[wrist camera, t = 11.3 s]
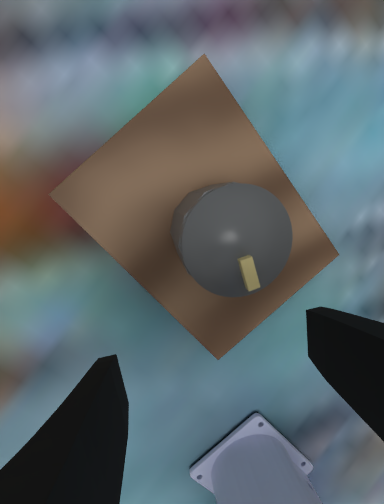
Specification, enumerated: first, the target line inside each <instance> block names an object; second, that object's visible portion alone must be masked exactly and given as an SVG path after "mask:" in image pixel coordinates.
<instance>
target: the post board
mask: <svg viewBox="0 0 384 504" xmlns="http://www.w3.org/2000/svg"><path fill="white" fill-rule="evenodd" d="M228 182H237V183H242V184H252V185H256V186H259V187H262V188H264V189H266V190H268V191H269V192H271V193H272V194H273V195H274V196H276V197H277V198H278V199H279V200H280V202H281V203H282V204H283V206H284V207H285V209H286V210H287V213H288V215H289V217H290V221H291V225H292V232H293V240H292V247H291V252H290V255H289V258H288V260H287V262H286V265H285V266H284V268H283V270H282V271H281V273H280V274H279V275H278V276H277V278H276V279H274V280H273V281H272V282H271V283H270V284H269V285H268V286H266V287H265V288H263V289H262V290H260V291H258V292H256V293H253V294H250V295H247V296H242V297H224V296H219V295H216V294H214V293H211V292H209V291H207V290H206V289H204V288H203V287H202V286H200V285H199V284H198V283H197V282H196V281H195V280H194V278H193V277H192V276H191V275H189V274H188V273H187V271H186V269H185V267H184V265H183V263H182V261H181V259H180V257H179V255H178V253H177V250H176V247H175V245H174V242H173V239H172V236H171V233H170V230H171V225H172V220H173V214H174V209H176V207H177V206H178V205H179V204H180V203H181V201H182V200H183V199H184V198H185V197H186V196H187V194H188V193H189V192H192V191H195V190H198V189H201V188H204V187H206V186H209V185H214V184H221V183H228ZM48 195H49V196H50V197H51V198H52V199H53V200H55V201H56V202H57V203H58V204H59V205H60V206H61V207H62V208H63V209H64V210H65V211H66V212H67V213H68V214H69V215H70V216H71V217H72V218H73V219H74V220H75V221H76V222H77V223H78V224H79V225H80V226H81V227H82V228H83V229H84V230H85V231H86V232H87V233H88V234H89V235H90V236H91V237H92V238H93V239H94V240H95V241H97V242H98V243H99V244H100V245H101V246H102V247H103V248H104V249H105V250H106V251H107V252H108V253H109V254H110V255H111V256H112V257H113V258H114V259H115V260H116V261H117V262H118V263H119V264H120V265H121V266H122V267H123V268H124V269H125V270H126V271H127V272H128V273H129V274H130V275H131V276H132V277H133V278H134V279H135V280H136V281H137V282H139V283H140V284H141V285H142V286H143V287H144V288H145V289H146V290H147V291H148V292H149V293H150V294H151V295H152V296H153V297H154V298H155V299H156V300H157V301H158V302H159V303H160V304H161V305H162V306H163V307H164V308H165V309H166V310H167V311H168V312H169V313H170V314H171V315H172V316H173V317H174V318H175V319H176V320H177V321H178V322H179V323H181V324H182V325H183V326H184V327H185V328H186V329H187V330H188V331H189V332H190V333H191V334H192V335H193V336H194V337H195V338H196V339H197V340H198V341H199V342H200V343H201V344H202V345H203V346H204V347H205V348H206V349H207V350H208V351H209V352H210V353H211V354H212V355H213V356H214V357H215V358H216V359H217V360H219V359H220V358H221V357H222V356H223V355H225V354H226V353H227V352H228V351H229V350H230V349H231V348H233V347H234V346H235V345H236V344H237V343H238V342H240V341H241V340H242V339H243V338H244V337H245V336H246V335H248V334H249V333H250V332H251V331H252V330H253V329H254V328H256V327H257V326H258V325H259V324H260V323H261V322H262V321H264V320H265V319H266V318H267V317H268V316H269V315H271V314H272V313H273V312H274V311H275V310H276V309H277V308H279V307H280V306H281V305H282V304H283V303H284V302H285V301H287V300H288V299H289V298H290V297H291V296H292V295H293V294H295V293H296V292H297V291H298V290H299V289H300V288H302V287H303V286H304V285H305V284H306V283H307V282H308V281H310V280H311V279H312V278H313V277H314V276H315V275H316V274H318V273H319V272H320V271H321V270H322V269H323V268H324V267H326V266H327V265H328V264H329V263H330V262H331V261H333V260H334V259H335V258H336V257H337V256H338V255H339V253H338V252H337V250H336V249H335V247H334V246H333V244H332V243H331V241H330V240H329V238H328V237H327V235H326V234H325V232H324V231H323V229H322V228H321V227H320V225H319V224H318V222H317V221H316V219H315V218H314V216H313V215H312V213H311V212H310V210H309V209H308V207H307V206H306V204H305V203H304V201H303V200H302V198H301V197H300V195H299V194H298V192H297V191H296V189H295V188H294V186H293V185H292V183H291V182H290V180H289V179H288V177H287V176H286V174H285V173H284V171H283V170H282V168H281V167H280V165H279V164H278V163H277V161H276V160H275V158H274V157H273V155H272V154H271V152H270V151H269V149H268V148H267V146H266V145H265V143H264V142H263V140H262V139H261V137H260V136H259V134H258V133H257V131H256V130H255V128H254V127H253V125H252V124H251V122H250V121H249V119H248V118H247V116H246V115H245V113H244V112H243V110H242V109H241V107H240V106H239V104H238V103H237V101H236V100H235V98H234V97H233V96H232V94H231V93H230V91H229V90H228V88H227V87H226V85H225V84H224V82H223V81H222V79H221V78H220V76H219V75H218V73H217V72H216V70H215V69H214V67H213V66H212V64H211V63H210V61H209V60H208V58H207V57H206V55H205V54H203V55H202V56H201V57H200V58H199V59H198V60H197V61H196V62H194V63H193V64H192V65H191V66H190V67H189V68H188V69H187V70H186V71H185V72H183V73H182V74H181V75H180V76H179V77H178V78H177V79H176V80H175V81H173V82H172V83H171V84H170V85H169V86H168V87H167V88H166V89H165V90H163V91H162V92H161V93H160V94H159V95H158V96H157V97H156V98H155V99H154V100H152V101H151V102H150V103H149V104H148V105H147V106H146V107H145V108H144V109H142V110H141V111H140V112H139V113H138V114H137V115H136V116H135V117H134V118H132V119H131V120H130V121H129V122H128V123H127V124H126V125H125V126H124V127H123V128H121V129H120V130H119V131H118V132H117V133H116V134H115V135H114V136H113V137H111V138H110V139H109V140H108V141H107V142H106V143H105V144H104V145H103V146H102V147H100V148H99V149H98V150H97V151H96V152H95V153H94V154H93V155H92V156H90V157H89V158H88V159H87V160H86V161H85V162H84V163H83V164H82V165H80V166H79V167H78V168H77V169H76V170H75V171H74V172H73V173H72V174H71V175H69V176H68V177H67V178H66V179H65V180H64V181H63V182H62V183H61V184H59V185H58V186H57V187H56V188H55V189H54V190H53V191H52V192H51V193H50V194H48Z"/></svg>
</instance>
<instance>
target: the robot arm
mask: <svg viewBox="0 0 384 504" xmlns="http://www.w3.org/2000/svg"><path fill="white" fill-rule="evenodd" d="M306 318H307V340H308V357H309V358H310V359H311V361H312V362H313V364H314V365H315V366H316V368H317V369H318V370H319V372H320V373H321V374H322V376H323V377H324V378H325V380H326V381H327V382H328V383H329V384H330V385H331V386H332V387H333V388H334V389H335V391H336V392H337V393H338V394H339V395H340V396H341V397H342V398H343V399H344V400H345V401H346V402H347V403H348V404H349V405H350V406H351V407H352V409H353V410H354V411H355V412H356V413H357V414H358V415H359V416H360V417H361V418H362V419H363V420H364V421H365V422H366V423H367V424H368V425H369V426H370V427H371V429H372V430H373V431H374V432H375V433H376V434H377V435H378V436H379V437H380V438H381V439H382V440H383V441H384V323H382V322H378V321H374V320H371V319H367V318H364V317H360V316H357V315H353V314H350V313H346V312H342V311H338V310H334V309H330V308H325V307H317V308H313V309H308V310H306ZM128 411H129V402H128V398H127V394H126V391H125V387H124V383H123V379H122V375H121V371H120V367H119V363H118V359H117V355H116V354H115V355H111V356H106V357H102V358H98V359H97V361H96V362H95V363H94V364H93V365H92V367H91V368H90V369H89V370H88V372H87V373H86V374H85V376H84V377H83V378H82V379H81V381H80V382H79V383H78V384H77V386H76V387H75V388H74V389H73V391H72V392H71V393H70V394H69V395H68V397H67V398H66V399H65V400H64V402H63V403H62V404H61V405H60V406H59V407H58V409H57V410H56V411H55V412H54V413H53V414H52V415H51V417H50V418H49V419H48V420H47V421H46V422H45V423H44V424H43V426H42V427H41V428H40V429H39V430H38V431H37V432H36V434H35V435H34V436H33V437H32V438H31V439H30V440H29V441H28V442H27V443H26V444H25V445H24V446H23V447H22V449H21V450H20V451H19V452H18V453H17V454H16V455H15V456H14V457H13V458H12V459H11V460H10V461H9V462H8V463H7V464H6V465H5V466H4V467H3V468H2V469H1V470H0V504H119V502H120V494H121V487H122V479H123V471H124V463H125V455H126V447H127V439H128ZM312 470H313V465H312V464H311V462H310V461H309V460H308V459H307V458H306V457H305V456H304V455H303V454H302V453H300V452H299V451H298V450H297V449H296V448H295V447H294V446H293V445H292V444H291V443H290V442H289V441H288V440H287V439H286V438H285V437H284V436H283V435H282V434H281V433H279V432H278V431H277V430H276V429H275V428H274V427H273V426H272V425H271V424H270V423H269V422H268V421H267V420H266V419H265V418H264V417H263V416H262V415H261V414H259V413H255V414H253V415H252V416H250V417H249V418H248V419H247V420H246V421H245V422H243V423H242V424H241V425H240V426H239V427H238V428H237V429H235V430H234V431H233V432H232V433H231V434H230V435H228V436H227V437H226V438H225V439H224V440H223V441H221V442H220V443H219V444H218V445H217V446H216V447H214V448H213V449H212V450H211V451H210V452H209V453H208V454H206V455H205V456H204V457H203V458H202V459H201V460H199V461H198V462H197V463H196V464H195V465H194V466H192V467H191V469H190V477H191V478H193V479H194V480H195V481H197V482H198V483H199V484H201V485H202V486H204V487H205V488H206V489H208V490H209V491H210V492H212V493H213V494H214V495H215V498H216V502H217V504H323V503H322V502H321V500H320V498H319V496H318V495H317V493H316V491H315V489H314V488H313V486H312V484H311V482H310V480H309V479H308V477H307V475H308V474H309V473H310V472H311V471H312Z"/></svg>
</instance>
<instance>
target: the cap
mask: <svg viewBox="0 0 384 504" xmlns="http://www.w3.org/2000/svg"><path fill="white" fill-rule="evenodd" d="M170 233H171V236H172V239H173V242H174V245H175V247H176V250H177V253H178V255H179V257H180V259H181V261H182V263H183V265H184V267H185V269H186V271H187V273H188V274H189V275H191V276H192V277H193V278H194V280H195V281H196V282H197V283H198V284H199V285H200V286H202V287H203V288H204V289H206V290H207V291H209V292H211V293H214V294H216V295H219V296H224V297H242V296H247V295H250V294H253V293H256V292H258V291H260V290H262V289H263V288H265V287H266V286H268V285H269V284H270V283H271V282H272V281H273V280H274V279H276V278H277V276H278V275H279V274H280V273H281V271H282V270H283V268H284V266H285V265H286V262H287V260H288V258H289V255H290V252H291V247H292V240H293V232H292V225H291V221H290V217H289V215H288V213H287V210H286V209H285V207H284V206H283V204H282V203H281V202H280V200H279V199H278V198H277V197H276V196H274V195H273V194H272V193H271V192H269V191H268V190H266V189H264V188H262V187H259V186H256V185H252V184H242V183H237V182H228V183H221V184H214V185H209V186H206V187H204V188H201V189H198V190H195V191H192V192H189V193H188V194H187V196H186V197H185V198H184V199H183V200H182V201H181V203H180V204H179V205H178V206H177V207H176V209H174V214H173V220H172V225H171V230H170Z"/></svg>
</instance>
